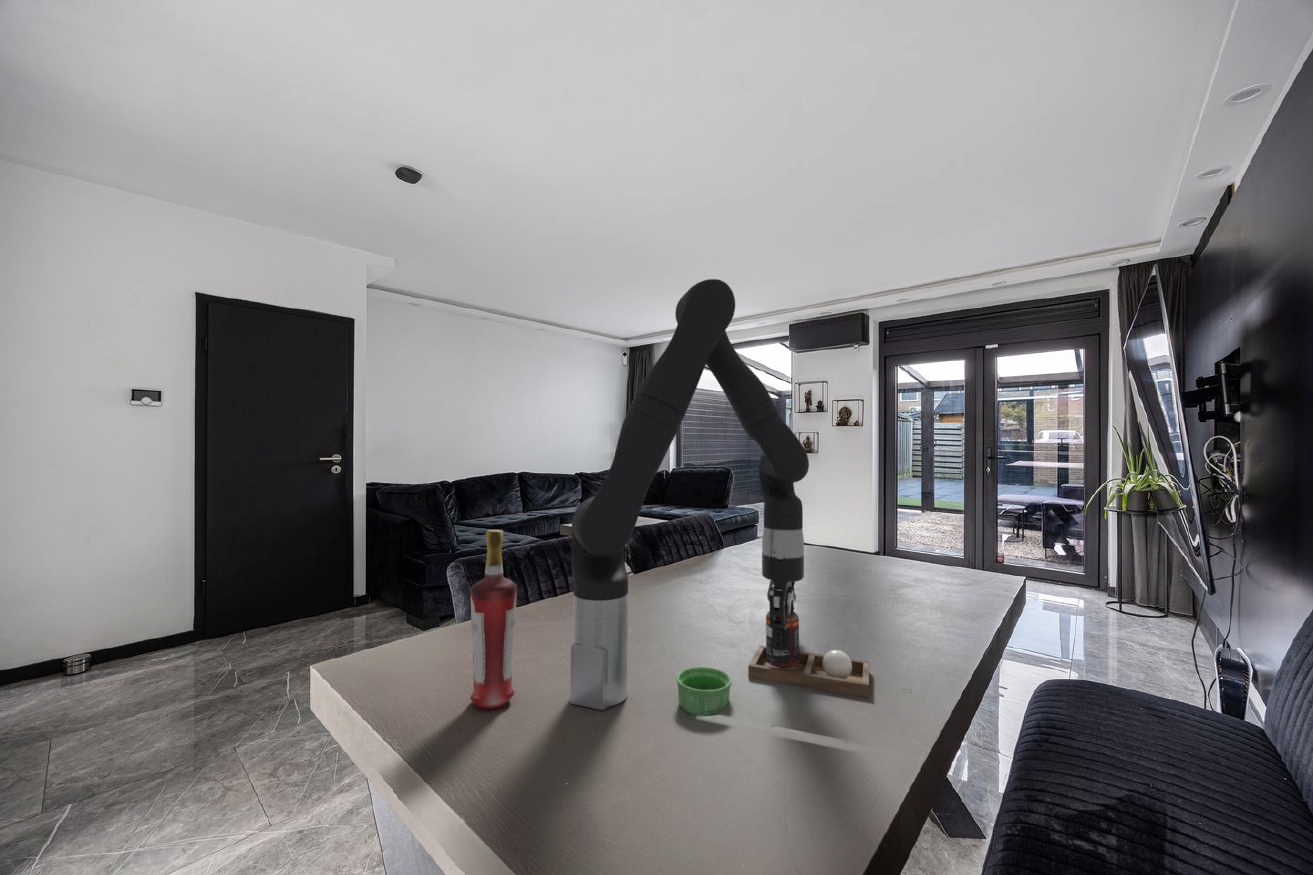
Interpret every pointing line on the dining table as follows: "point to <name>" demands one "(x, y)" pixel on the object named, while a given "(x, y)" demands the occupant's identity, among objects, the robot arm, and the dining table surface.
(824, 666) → the egg
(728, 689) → the ramekin
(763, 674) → the holder
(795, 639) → the supplement bottle
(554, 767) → the dining table surface
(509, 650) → the liquor
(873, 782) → the dining table surface
